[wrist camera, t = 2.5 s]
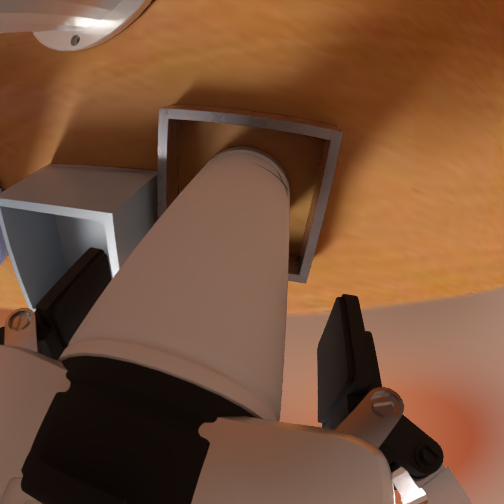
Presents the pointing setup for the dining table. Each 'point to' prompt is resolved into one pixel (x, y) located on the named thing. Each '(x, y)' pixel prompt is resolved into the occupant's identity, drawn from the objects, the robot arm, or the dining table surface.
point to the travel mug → (174, 344)
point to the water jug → (2, 245)
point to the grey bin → (74, 220)
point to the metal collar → (331, 133)
